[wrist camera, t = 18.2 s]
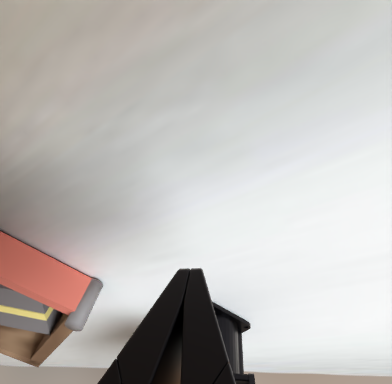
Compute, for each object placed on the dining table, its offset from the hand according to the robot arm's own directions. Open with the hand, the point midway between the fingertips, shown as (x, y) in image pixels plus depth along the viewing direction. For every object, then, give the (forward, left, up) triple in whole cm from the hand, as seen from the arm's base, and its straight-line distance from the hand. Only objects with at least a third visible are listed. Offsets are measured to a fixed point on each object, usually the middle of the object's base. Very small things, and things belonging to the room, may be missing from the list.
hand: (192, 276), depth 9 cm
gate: (+6, +21, -12) cm, 25 cm away
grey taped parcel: (+5, +28, -12) cm, 31 cm away
